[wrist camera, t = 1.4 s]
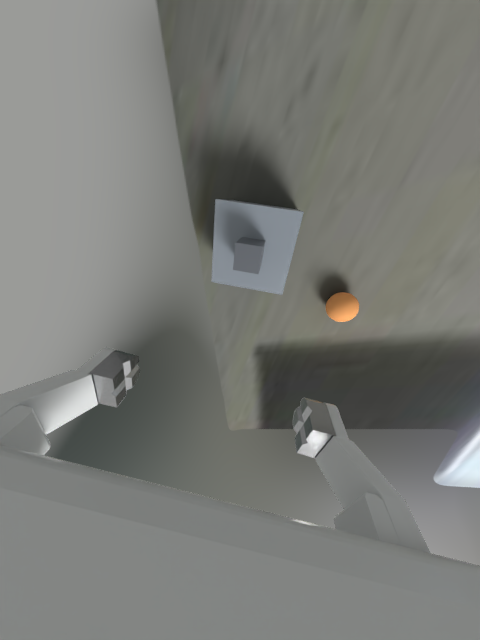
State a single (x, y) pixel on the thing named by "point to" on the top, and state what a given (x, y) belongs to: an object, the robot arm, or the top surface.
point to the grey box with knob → (253, 244)
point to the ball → (342, 307)
